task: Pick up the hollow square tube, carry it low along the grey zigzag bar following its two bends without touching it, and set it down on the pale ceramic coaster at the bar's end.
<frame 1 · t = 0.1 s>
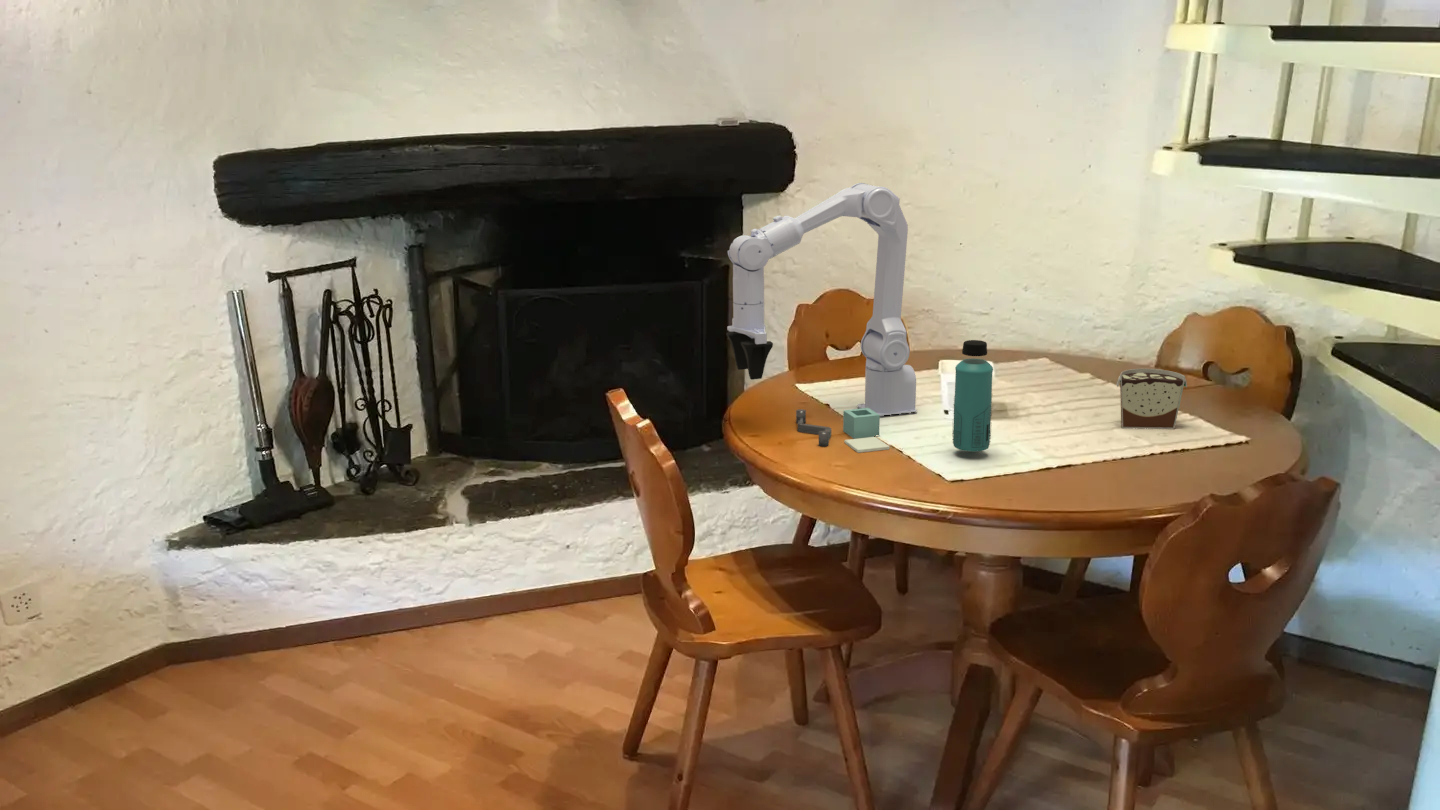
hand: (749, 373, 208), 10 cm above the table, fingers open, 7 cm apart
grey zigzag bar: (819, 432, 205), on the table
hollow square tube: (861, 433, 204), on the table
beverage bottle: (970, 455, 192), on the table
coaster: (866, 445, 197), on the table
food container: (1143, 424, 208), on the table
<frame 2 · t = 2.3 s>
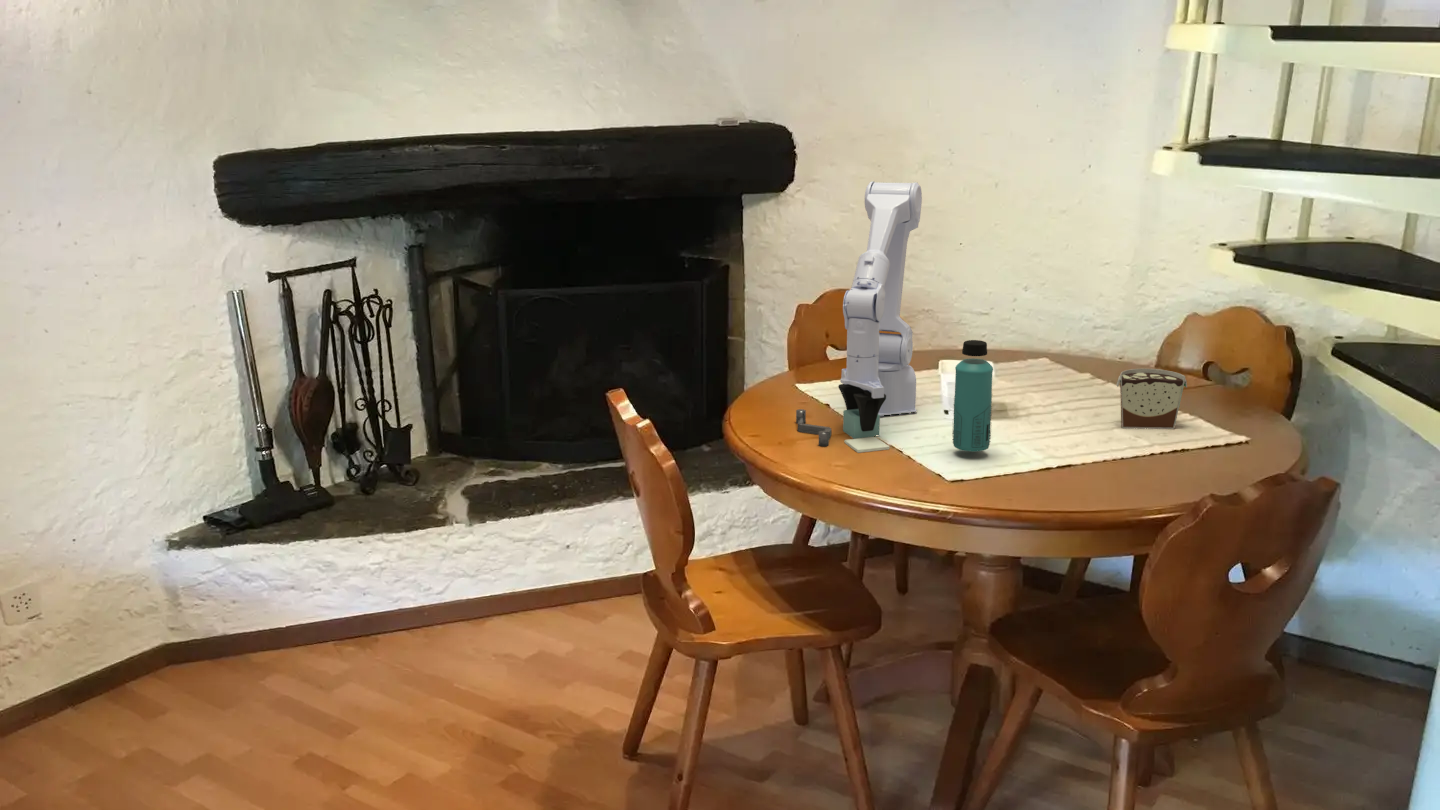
hand: (861, 426, 204), 1 cm above the table, fingers closed on hollow square tube, 5 cm apart
hollow square tube: (861, 433, 204), on the table, touching gripper
everything else where it was.
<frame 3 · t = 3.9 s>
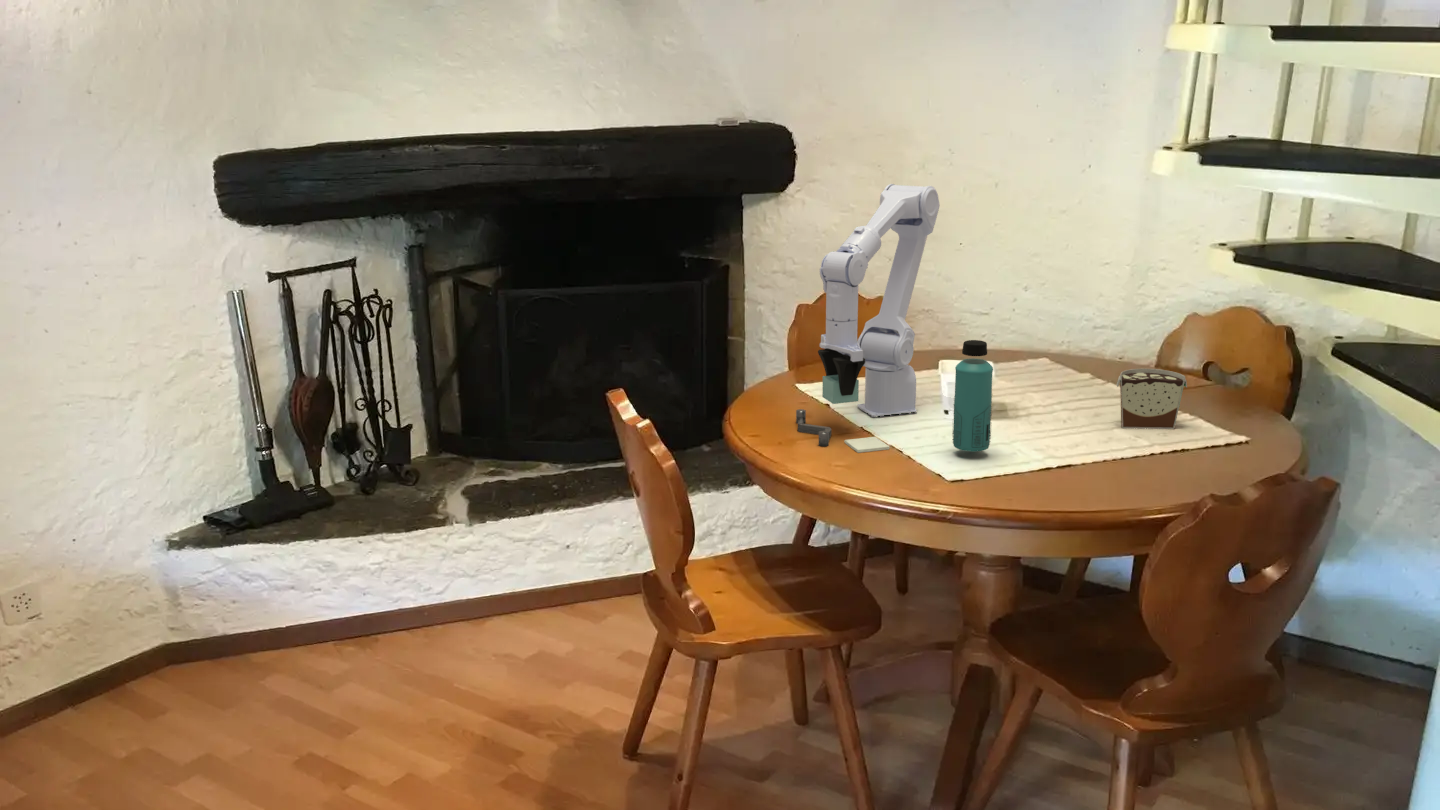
hand: (840, 391, 205), 8 cm above the table, fingers closed on hollow square tube, 5 cm apart
hollow square tube: (840, 399, 205), point 6 cm above the table, touching gripper
everything else where it was.
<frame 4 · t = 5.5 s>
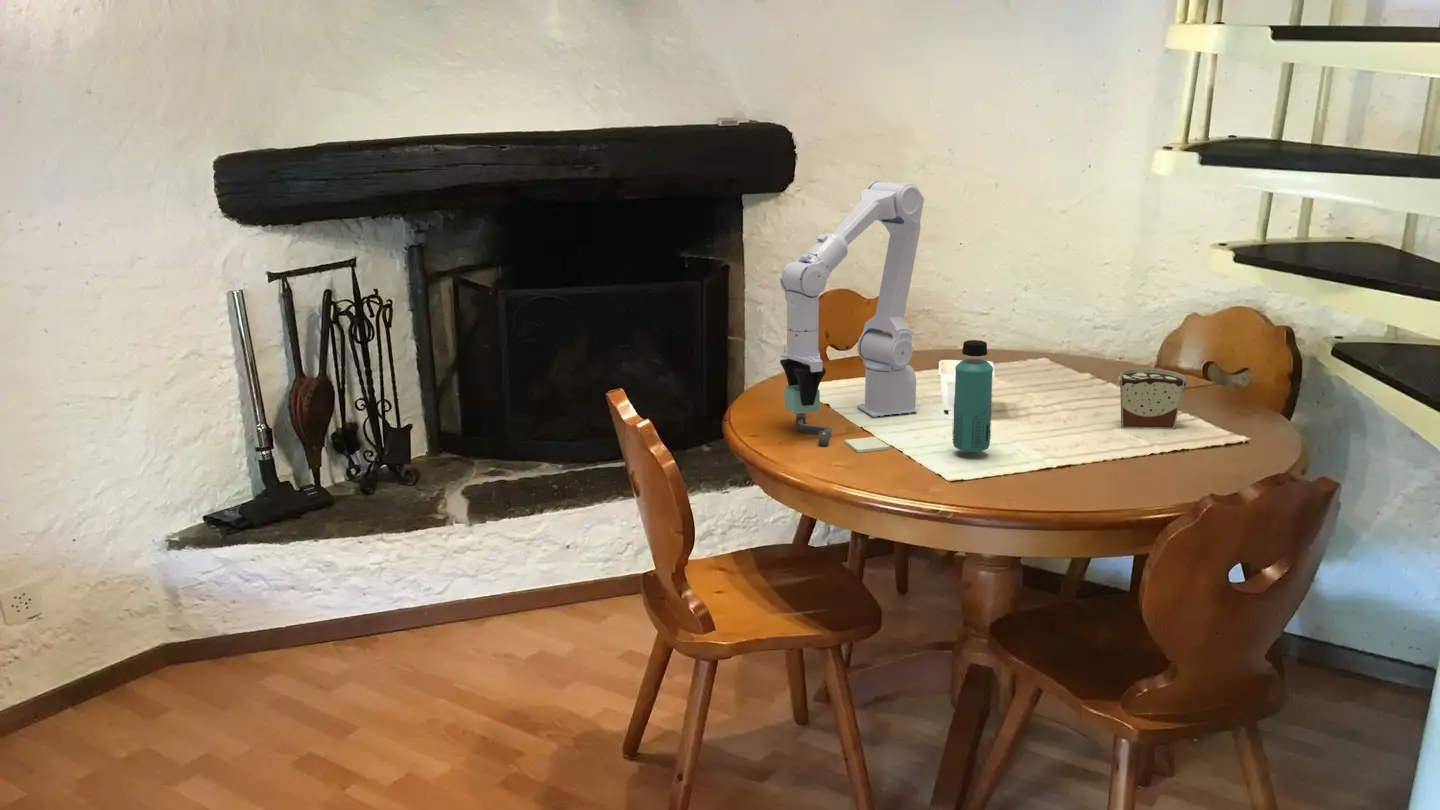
hand: (802, 400, 205), 6 cm above the table, fingers closed on hollow square tube, 5 cm apart
hollow square tube: (801, 409, 205), point 4 cm above the table, touching gripper
everything else where it was.
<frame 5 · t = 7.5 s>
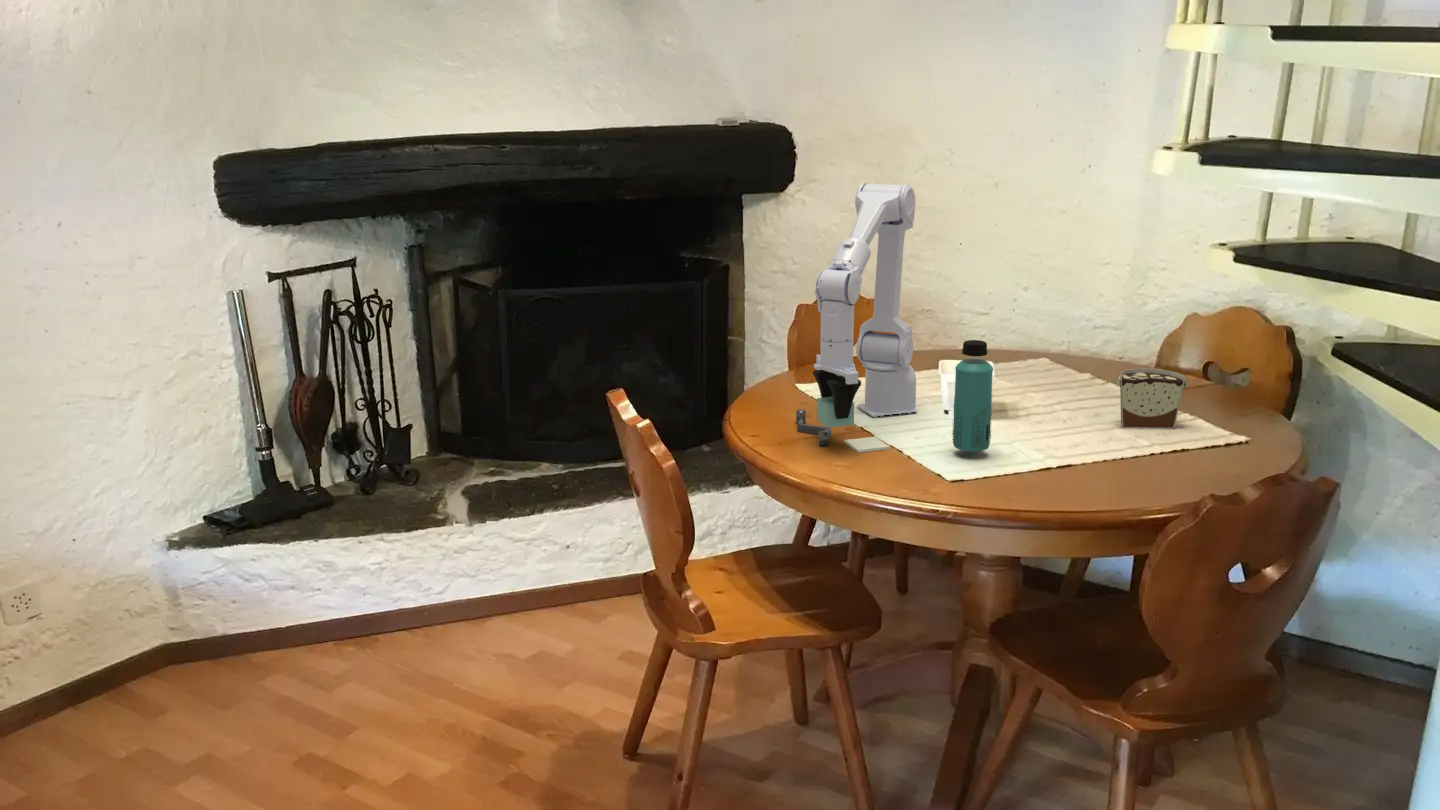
hand: (836, 413, 197), 6 cm above the table, fingers closed on hollow square tube, 5 cm apart
hollow square tube: (835, 422, 197), point 4 cm above the table, touching gripper
everything else where it was.
when the fingers open (3 cm above the table, at t = 8.9 s): hollow square tube stays where it is, resting on coaster.
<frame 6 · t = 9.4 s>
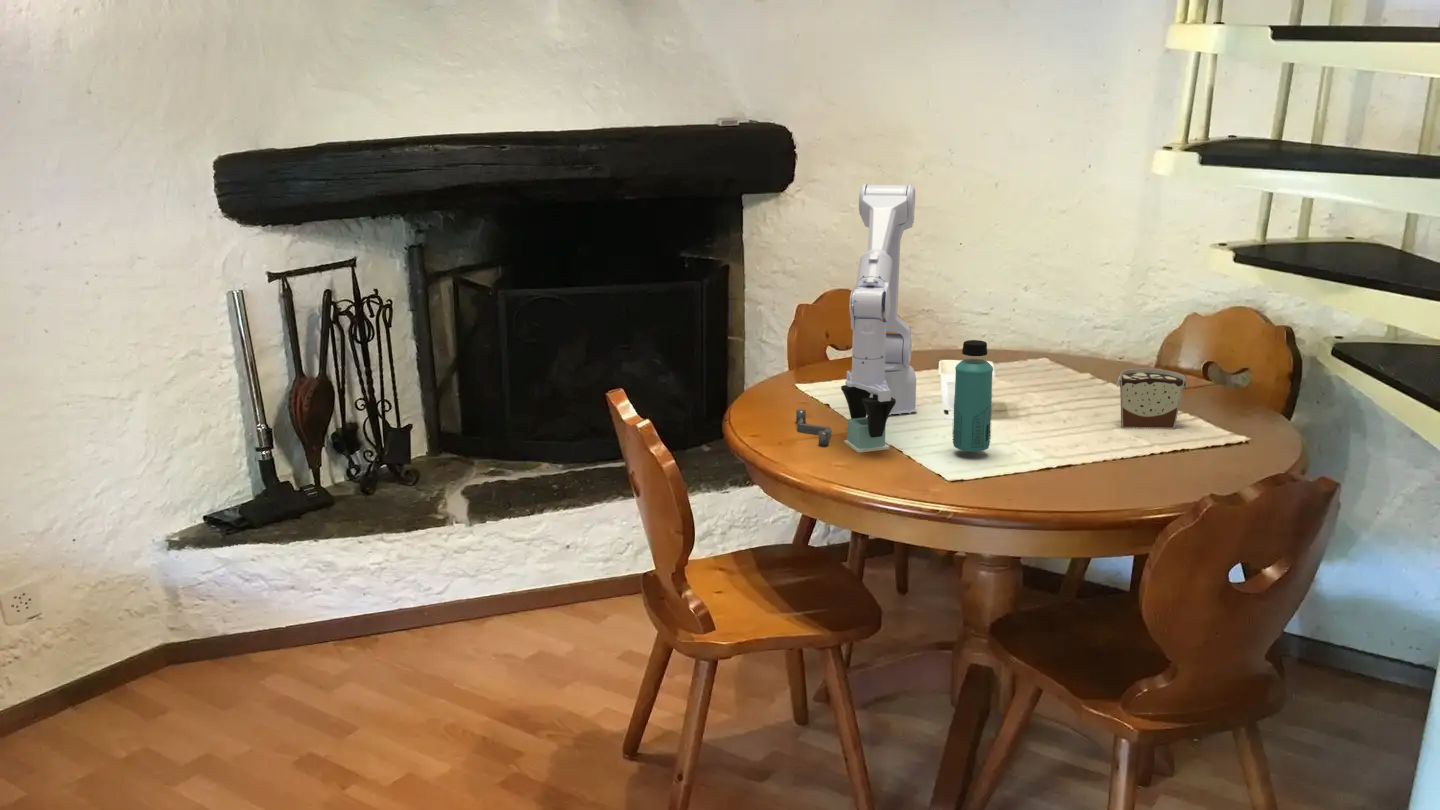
hand: (867, 430, 197), 3 cm above the table, fingers open, 7 cm apart
hollow square tube: (866, 443, 197), resting on coaster
everything else where it was.
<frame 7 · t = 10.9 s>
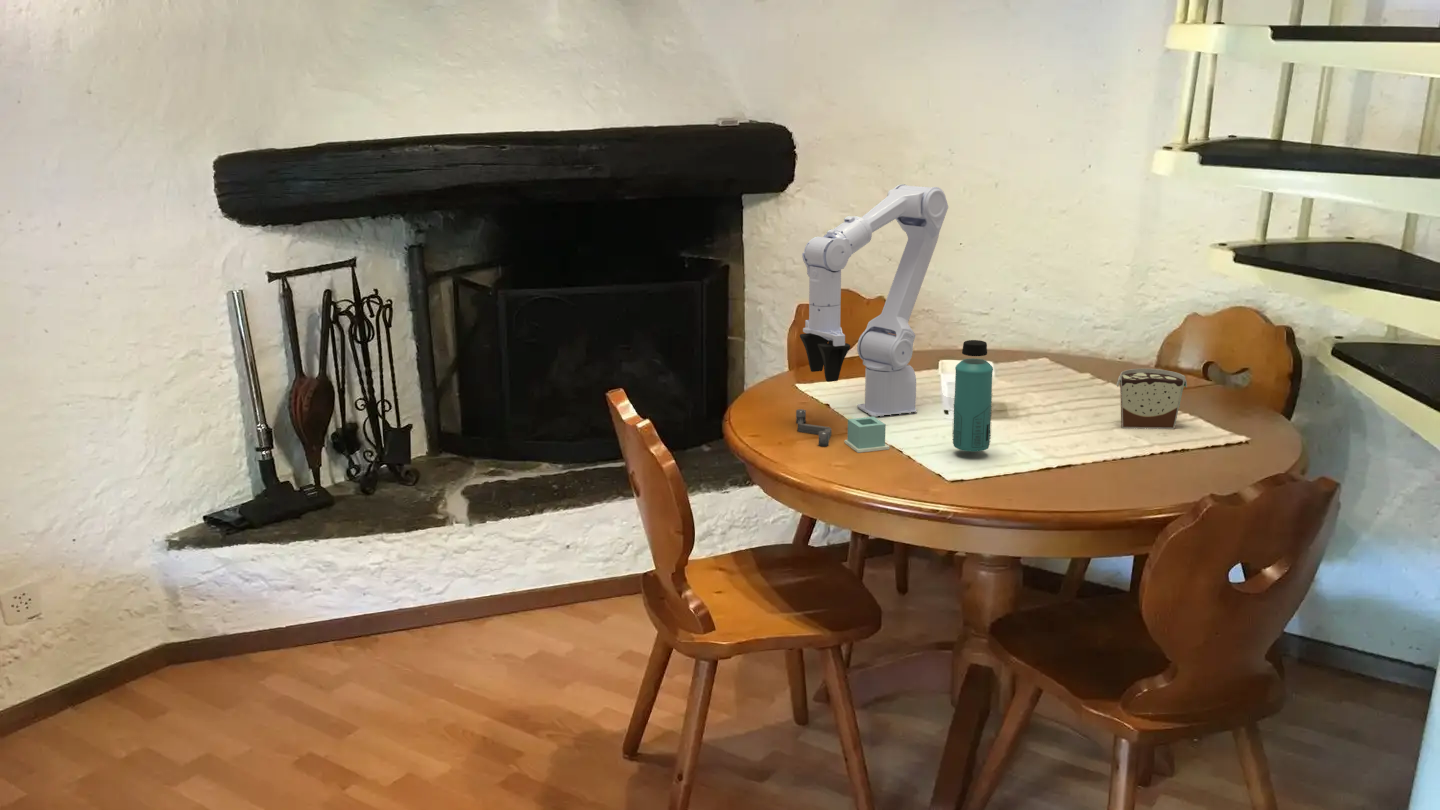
hand: (824, 376, 206), 10 cm above the table, fingers open, 7 cm apart
nothing on the table moved.
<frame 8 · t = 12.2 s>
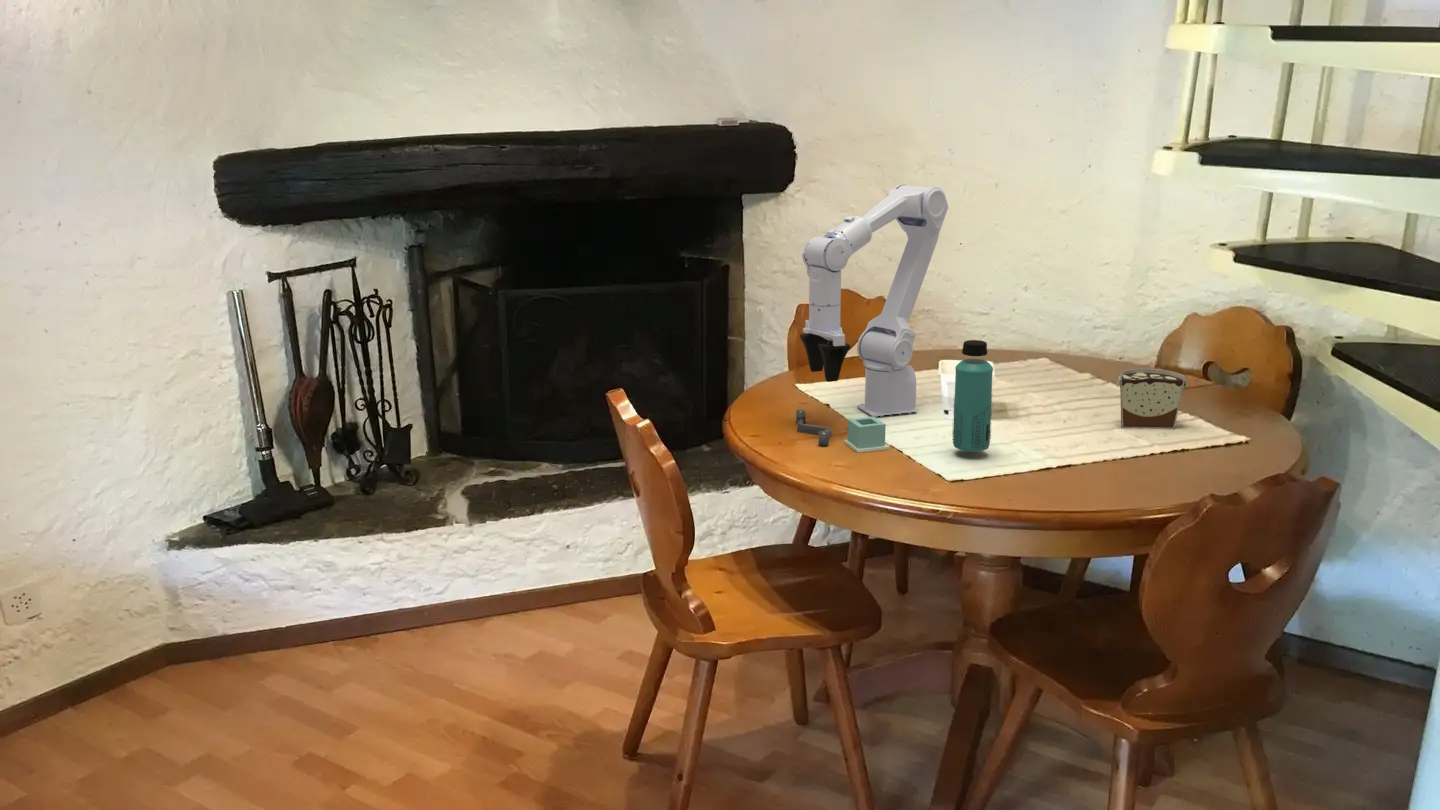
hand: (824, 376, 206), 10 cm above the table, fingers open, 7 cm apart
nothing on the table moved.
at the end: hollow square tube inside the target area on the coaster (0.1 cm from its centre), point 0.5 cm above the coaster's base; hollow square tube touching coaster; hollow square tube tilted 0° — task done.
